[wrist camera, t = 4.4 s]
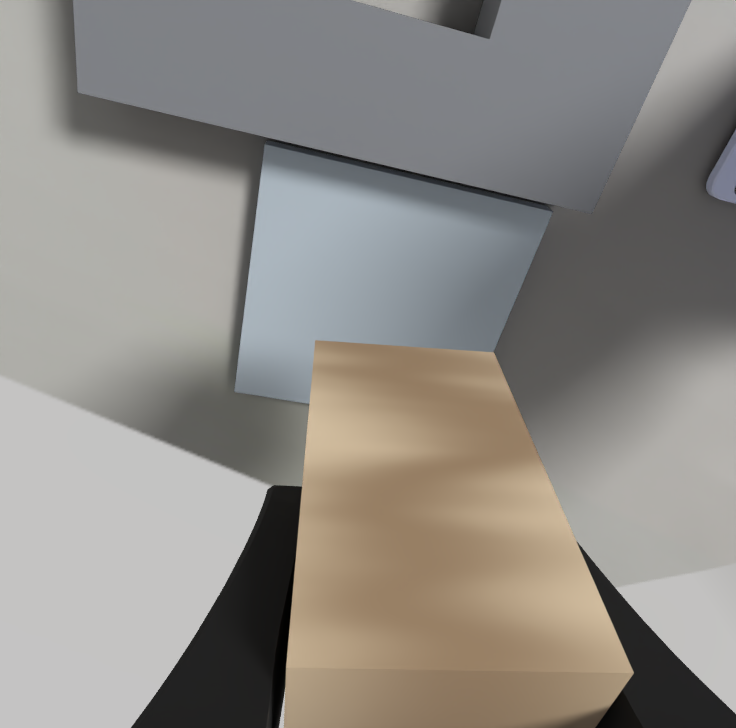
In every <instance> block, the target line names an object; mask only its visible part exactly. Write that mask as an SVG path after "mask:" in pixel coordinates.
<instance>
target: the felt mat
mask: <svg viewBox="0 0 736 728" xmlns="http://www.w3.org/2000/svg"><path fill="white" fill-rule="evenodd" d="M552 213H553V211H552V210H551V209H550V208H549V207H548V206H545V205H541V204H536V203H532V202H528V201H524V200H519V199H515V198H511V197H507V196H503V195H498V194H494V193H490V192H486V191H481V190H477V189H473V188H469V187H464V186H460V185H456V184H452V183H447V182H443V181H439V180H435V179H430V178H426V177H422V176H418V175H413V174H409V173H405V172H401V171H396V170H392V169H388V168H384V167H379V166H375V165H371V164H367V163H362V162H358V161H354V160H350V159H345V158H341V157H337V156H333V155H329V154H324V153H320V152H316V151H312V150H307V149H303V148H299V147H295V146H290V145H286V144H282V143H278V142H273V141H269V140H267V141H266V143H265V145H264V154H263V162H262V170H261V178H260V186H259V194H258V203H257V211H256V219H255V227H254V235H253V243H252V251H251V260H250V268H249V276H248V284H247V292H246V300H245V308H244V317H243V325H242V333H241V341H240V349H239V357H238V365H237V374H236V382H235V390H234V392H238V393H244V394H251V395H257V396H263V397H269V398H275V399H282V400H288V401H294V402H300V403H306V404H310V392H311V381H312V370H313V359H314V347H315V340H320V341H335V342H350V343H364V344H379V345H393V346H408V347H423V348H437V349H452V350H467V351H481V352H494V350H495V347H496V345H497V343H498V340H499V338H500V336H501V333H502V331H503V328H504V326H505V324H506V321H507V319H508V317H509V314H510V312H511V310H512V307H513V305H514V303H515V300H516V298H517V296H518V293H519V291H520V288H521V286H522V284H523V281H524V279H525V277H526V274H527V272H528V270H529V267H530V265H531V263H532V260H533V258H534V256H535V253H536V251H537V248H538V246H539V244H540V241H541V239H542V237H543V234H544V232H545V230H546V227H547V225H548V223H549V220H550V218H551V216H552Z"/></svg>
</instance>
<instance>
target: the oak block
mask: <svg viewBox="0 0 736 728" xmlns="http://www.w3.org/2000/svg"><path fill="white" fill-rule="evenodd" d="M633 674H634V672H633V670H632V668H631V665H630V663H629V661H628V658H627V656H626V654H625V652H624V649H623V647H622V645H621V642H620V640H619V638H618V635H617V633H616V631H615V629H614V626H613V624H612V622H611V619H610V617H609V615H608V613H607V610H606V608H605V606H604V603H603V601H602V599H601V597H600V594H599V592H598V590H597V587H596V585H595V583H594V581H593V578H592V576H591V574H590V571H589V569H588V567H587V565H586V562H585V560H584V558H583V555H582V553H581V551H580V548H579V546H578V544H577V542H576V539H575V537H574V535H573V532H572V530H571V528H570V526H569V523H568V521H567V519H566V516H565V514H564V512H563V510H562V507H561V505H560V503H559V500H558V498H557V496H556V494H555V491H554V489H553V487H552V484H551V482H550V480H549V478H548V475H547V473H546V471H545V468H544V466H543V464H542V461H541V459H540V457H539V455H538V452H537V450H536V448H535V445H534V443H533V441H532V439H531V436H530V434H529V432H528V429H527V427H526V425H525V423H524V420H523V418H522V416H521V413H520V411H519V409H518V407H517V404H516V402H515V400H514V397H513V395H512V393H511V391H510V388H509V386H508V384H507V381H506V379H505V377H504V374H503V372H502V370H501V368H500V365H499V363H498V361H497V358H496V356H495V354H494V352H481V351H467V350H452V349H437V348H423V347H408V346H393V345H379V344H364V343H350V342H335V341H320V340H315V347H314V359H313V370H312V381H311V392H310V404H309V415H308V426H307V438H306V449H305V460H304V471H303V483H302V494H301V505H300V517H299V528H298V539H297V550H296V562H295V573H294V584H293V596H292V607H291V618H290V629H289V641H288V652H287V663H286V685H285V714H284V728H595V727H596V726H597V725H598V723H599V722H600V720H601V719H602V717H603V716H604V715H605V713H606V712H607V710H608V709H609V708H610V706H611V705H612V703H613V702H614V701H615V699H616V698H617V696H618V695H619V693H620V692H621V691H622V689H623V688H624V686H625V685H626V684H627V682H628V681H629V679H630V678H631V677H632V675H633Z"/></svg>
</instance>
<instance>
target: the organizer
mask: <svg viewBox="0 0 736 728" xmlns="http://www.w3.org/2000/svg"><path fill="white" fill-rule="evenodd" d="M690 2H691V0H483V4H482V7H481V11H480V14H479V18H478V21H477V24H476V28H475V31H474V35H472V34H469V33H465V32H462V31H458V30H455V29H451V28H448V27H444V26H441V25H437V24H434V23H430V22H426V21H423V20H419V19H416V18H412V17H409V16H405V15H402V14H398V13H395V12H391V11H388V10H384V9H381V8H377V7H373V6H370V5H366V4H363V3H359V2H356V1H352V0H73V13H74V32H75V51H76V70H77V89H78V93H81V94H86V95H90V96H94V97H98V98H102V99H107V100H111V101H115V102H119V103H124V104H128V105H132V106H136V107H141V108H145V109H149V110H153V111H157V112H162V113H166V114H170V115H174V116H179V117H183V118H187V119H191V120H196V121H200V122H204V123H208V124H212V125H217V126H221V127H225V128H229V129H234V130H238V131H242V132H246V133H251V134H255V135H259V136H263V137H267V138H272V139H276V140H280V141H284V142H289V143H293V144H297V145H301V146H306V147H310V148H314V149H318V150H322V151H327V152H331V153H335V154H339V155H344V156H348V157H352V158H356V159H361V160H365V161H369V162H373V163H377V164H382V165H386V166H390V167H394V168H399V169H403V170H407V171H411V172H416V173H420V174H424V175H428V176H432V177H437V178H441V179H445V180H449V181H454V182H458V183H462V184H466V185H471V186H475V187H479V188H483V189H487V190H492V191H496V192H500V193H504V194H509V195H513V196H517V197H521V198H526V199H530V200H534V201H538V202H542V203H547V204H551V205H555V206H559V207H564V208H568V209H572V210H576V211H581V212H585V213H589V214H592V213H593V211H594V209H595V206H596V204H597V202H598V200H599V198H600V196H601V194H602V191H603V189H604V187H605V185H606V183H607V181H608V179H609V176H610V174H611V172H612V170H613V168H614V166H615V163H616V161H617V159H618V157H619V155H620V153H621V151H622V148H623V146H624V144H625V142H626V140H627V138H628V136H629V133H630V131H631V129H632V127H633V125H634V123H635V121H636V118H637V116H638V114H639V112H640V110H641V108H642V106H643V103H644V101H645V99H646V97H647V95H648V93H649V90H650V88H651V86H652V84H653V82H654V80H655V78H656V75H657V73H658V71H659V69H660V67H661V65H662V63H663V60H664V58H665V56H666V54H667V52H668V50H669V48H670V45H671V43H672V41H673V39H674V37H675V35H676V33H677V30H678V28H679V26H680V24H681V22H682V20H683V18H684V15H685V13H686V11H687V9H688V7H689V5H690Z"/></svg>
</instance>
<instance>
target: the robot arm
mask: <svg viewBox="0 0 736 728" xmlns="http://www.w3.org/2000/svg"><path fill="white" fill-rule="evenodd" d="M735 186H736V130H735V131H734V133H733V135H732V137H731V139H730V140H729V142H728V144H727V146H726V147H725V149H724V151H723V153H722V155H721V156H720V158H719V160H718V162H717V163H716V165H715V167H714V169H713V170H712V172H711V174H710V176H709V178H708V180H707V183H706V190H707V192H708V193H709V195H711V196H713V197H715V198H717V199H719V200H723V201H727V202H731V203H735V204H736V192H734V189H735ZM301 494H302V487H298V486H276V485H274V486H272V487H271V488H269V489H268V490H267V494H266V497H265V501H264V503H263V506H262V509H261V511H260V514H259V516H258V519H257V521H256V524H255V526H254V529H253V530H252V533H251V535H250V537H249V539H248V542H247V543H246V545H245V548H244V550H243V552H242V553H241V555H240V557H239V559H238V561H237V563H236V565H235V567H234V569H233V571H232V573H231V575H230V577H229V578H228V580H227V582H226V584H225V586H224V588H223V589H222V591H221V593H220V595H219V596H218V598H217V600H216V601H215V603H214V605H213V606H212V608H211V610H210V612H209V613H208V615H207V616H206V618H205V620H204V621H203V623H202V625H201V626H200V628H199V630H198V632H197V633H196V635H195V637H194V638H193V639H192V641H191V643H190V644H189V646H188V647H187V649H186V650H185V652H184V653H183V655H182V657H181V658H180V659H179V661H178V663H177V664H176V665H175V667H174V668H173V670H172V671H171V673H170V674H169V676H168V677H167V679H166V680H165V682H164V683H163V685H162V686H161V687H160V689H159V690H158V692H157V693H156V695H155V696H154V697H153V699H152V700H151V702H150V703H149V704H148V706H147V707H146V708H145V710H144V711H143V712H142V714H141V715H140V716H139V718H138V719H137V720H136V722H135V723H134V725H133V726H132V727H131V728H279V723H280V716H281V710H282V704H283V698H284V692H285V685H286V663H287V652H288V641H289V629H290V618H291V607H292V596H293V584H294V573H295V562H296V550H297V539H298V528H299V517H300V505H301ZM576 542H577V541H576ZM577 544H578V546H579V548H580V551H581V553H582V555H583V558H584V560H585V562H586V565H587V567H588V569H589V571H590V574H591V576H592V578H593V581H594V583H595V585H596V587H597V590H598V592H599V594H600V597H601V599H602V601H603V603H604V606H605V608H606V610H607V613H608V615H609V617H610V619H611V622H612V624H613V626H614V629H615V631H616V633H617V635H618V638H619V640H620V642H621V645H622V647H623V649H624V652H625V654H626V656H627V658H628V661H629V663H630V665H631V668H632V670H633V672H634V674H633V675H632V677H631V678H630V679H629V681H628V682H627V684H626V685H625V686H624V688H623V689H622V691H621V692H620V693H619V695H618V696H617V698H616V699H615V701H614V702H613V703H612V705H611V706H610V708H609V709H608V710H607V712H606V713H605V715H604V716H603V717H602V719H601V720H600V722H599V723H598V725H597V726H596V727H595V728H736V714H735V713H734V712H733V711H732V710H731V709H730V708H729V707H728V706H727V705H726V704H725V703H724V702H722V700H720V699H719V698H718V697H717V696H716V695H715V694H714V693H713V692H712V691H711V690H710V689H709V688H708V687H707V686H706V685H705V684H704V683H703V682H702V681H701V680H699V678H698V677H697V676H696V675H695V674H694V673H692V671H691V670H690V669H689V668H688V667H687V666H686V665H685V664H684V663H683V662H682V661H681V660H680V659H679V658H678V657H677V656H676V655H675V654H674V653H673V652H672V651H671V650H670V649H669V648H668V647H667V646H666V644H665V643H664V642H663V641H662V640H661V639H660V638H659V637H658V636H657V635H656V634H655V633H654V631H652V629H651V628H650V627H649V626H648V625H647V624H646V623H645V622H644V621H643V620H642V618H641V617H640V616H639V615H638V614H637V613H636V612H635V610H634V609H633V608H632V607H631V606H630V605H629V604H628V603H627V601H626V600H625V599H624V598H623V597H622V595H621V594H620V593H619V592H618V591H617V590H616V588H615V587H614V586H613V585H612V584H611V582H610V581H609V580H608V579H607V578H606V577H605V575H604V574H603V573H602V572H601V571H600V569H599V568H598V567H597V566H596V565H595V563H594V562H593V561H592V560H591V558H590V557H589V556H588V555H587V553H586V552H585V551H584V550H583V548H582V547H581V546H580V545H579V543H578V542H577Z"/></svg>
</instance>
